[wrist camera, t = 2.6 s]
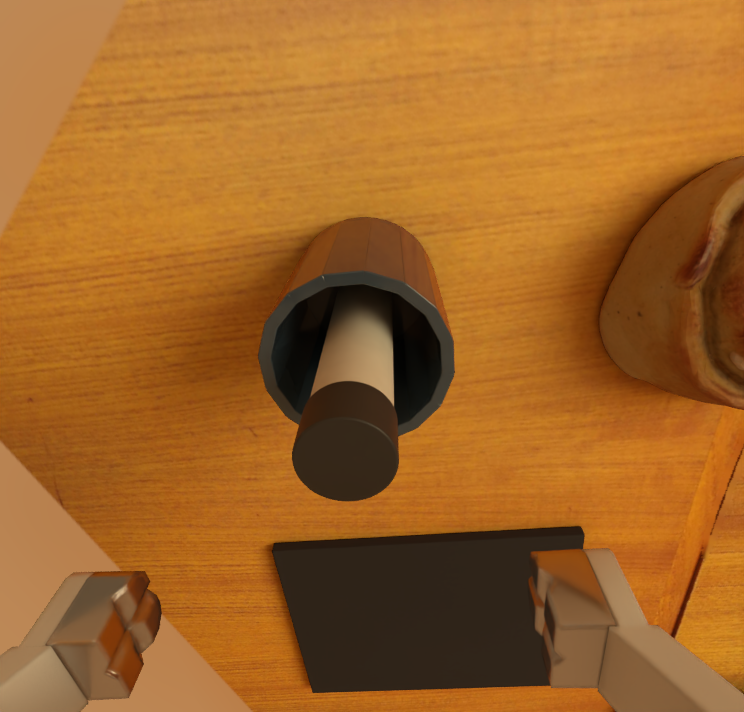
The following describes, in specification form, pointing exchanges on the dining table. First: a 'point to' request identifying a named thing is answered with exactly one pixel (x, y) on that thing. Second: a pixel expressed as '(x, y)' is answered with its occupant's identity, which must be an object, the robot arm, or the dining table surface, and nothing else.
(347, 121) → the dining table surface
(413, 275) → the pen cup
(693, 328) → the pastry
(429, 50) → the dining table surface
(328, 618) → the mat
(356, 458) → the marker
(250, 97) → the dining table surface
